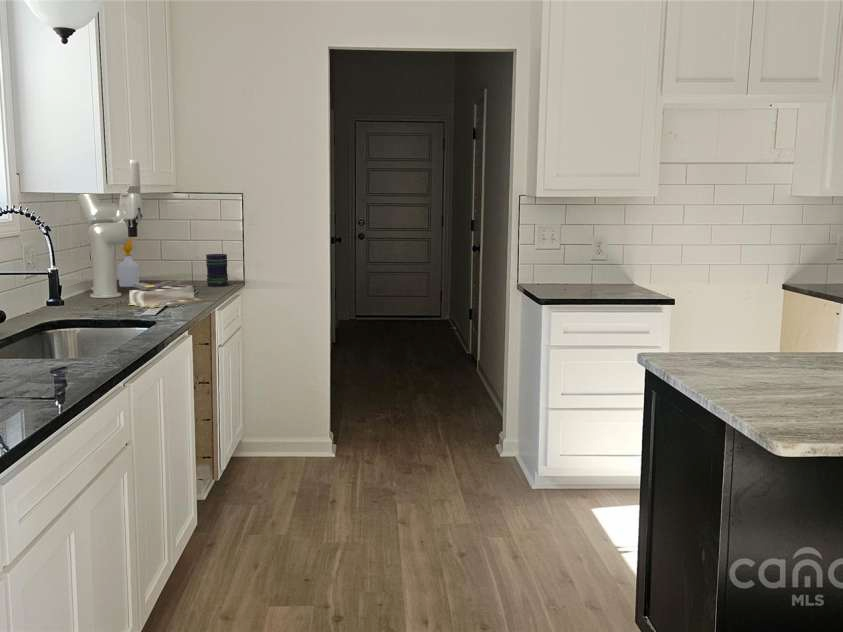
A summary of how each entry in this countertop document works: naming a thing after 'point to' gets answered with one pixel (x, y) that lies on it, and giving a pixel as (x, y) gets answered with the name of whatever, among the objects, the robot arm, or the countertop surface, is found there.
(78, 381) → the countertop surface
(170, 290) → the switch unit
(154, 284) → the rocker middle
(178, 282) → the rocker
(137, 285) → the rocker
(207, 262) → the storage jar
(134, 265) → the soap bottle
